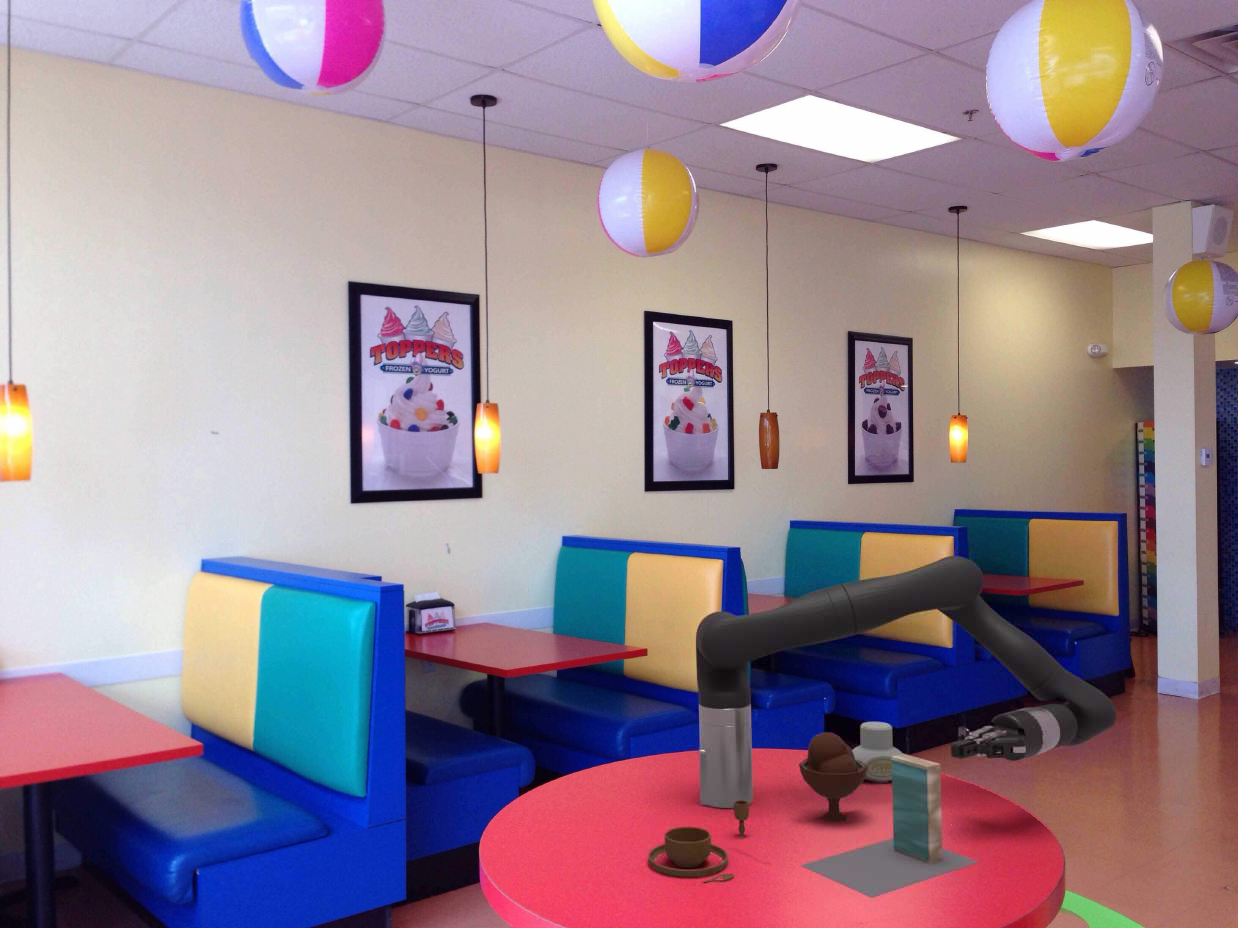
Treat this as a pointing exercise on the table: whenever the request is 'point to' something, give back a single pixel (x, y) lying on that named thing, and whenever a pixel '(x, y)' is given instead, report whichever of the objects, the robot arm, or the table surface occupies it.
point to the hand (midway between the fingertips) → (955, 751)
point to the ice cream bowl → (832, 772)
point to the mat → (883, 868)
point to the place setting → (696, 848)
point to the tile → (917, 807)
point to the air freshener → (876, 751)
